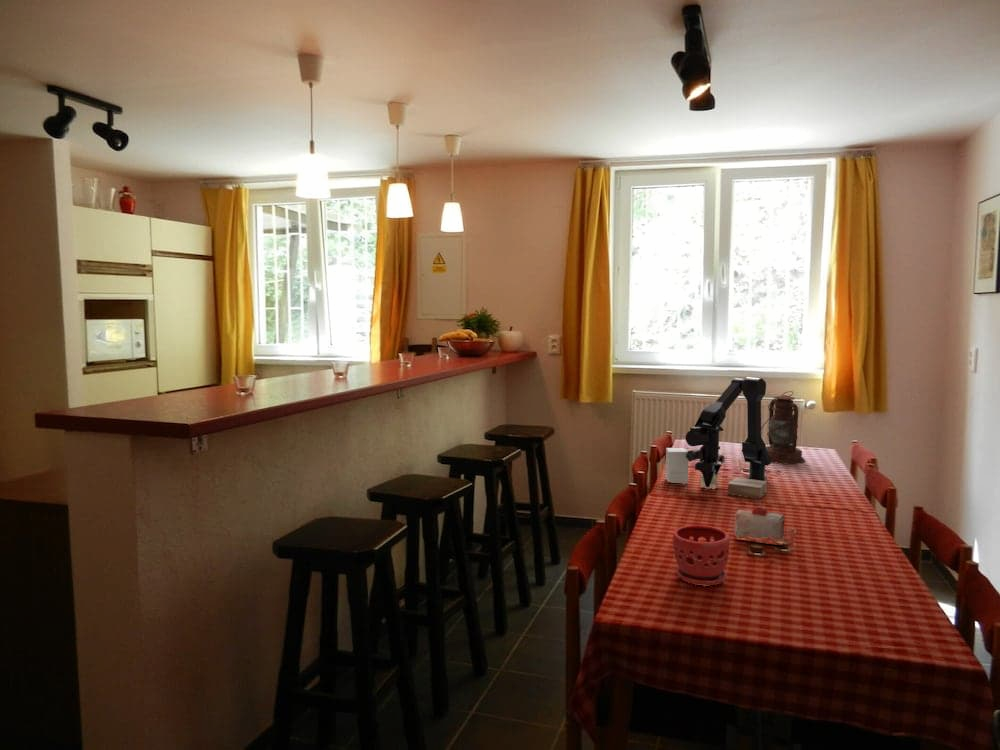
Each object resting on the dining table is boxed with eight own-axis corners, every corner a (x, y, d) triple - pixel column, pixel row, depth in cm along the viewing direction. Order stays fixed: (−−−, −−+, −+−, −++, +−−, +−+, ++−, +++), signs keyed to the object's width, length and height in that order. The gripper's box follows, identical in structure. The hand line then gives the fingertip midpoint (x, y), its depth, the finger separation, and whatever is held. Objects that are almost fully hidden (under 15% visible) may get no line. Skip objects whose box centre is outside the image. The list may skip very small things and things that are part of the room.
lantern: (749, 456, 308) (752, 389, 306) (784, 453, 314) (787, 388, 311) (778, 465, 290) (781, 395, 288) (814, 462, 296) (818, 393, 293)
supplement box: (684, 480, 266) (685, 447, 264) (687, 484, 258) (688, 451, 257) (665, 479, 266) (665, 447, 265) (667, 484, 259) (668, 451, 258)
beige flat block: (735, 487, 254) (735, 477, 254) (766, 492, 248) (766, 481, 248) (727, 494, 245) (728, 483, 244) (760, 499, 239) (760, 487, 239)
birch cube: (704, 485, 257) (704, 472, 257) (717, 487, 255) (718, 474, 254) (700, 488, 253) (700, 475, 252) (714, 490, 250) (714, 477, 250)
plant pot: (685, 565, 177) (687, 520, 176) (736, 578, 169) (737, 531, 168) (662, 581, 167) (664, 533, 166) (715, 595, 159) (717, 545, 158)
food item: (731, 541, 196) (733, 507, 195) (735, 533, 203) (736, 500, 202) (783, 548, 190) (785, 514, 189) (785, 540, 198) (786, 506, 197)
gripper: (695, 437, 264) (694, 477, 266) (681, 445, 248) (680, 487, 250) (725, 440, 258) (724, 481, 260) (712, 448, 243) (711, 492, 244)
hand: (709, 485), depth 254 cm, fingers closed on birch cube, 5 cm apart
